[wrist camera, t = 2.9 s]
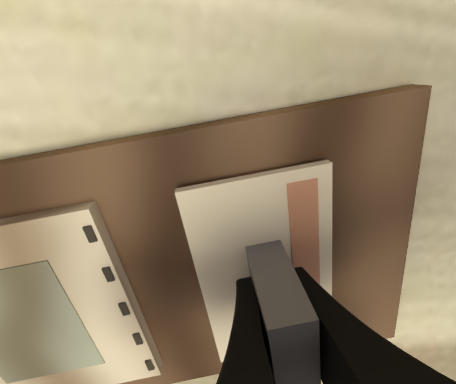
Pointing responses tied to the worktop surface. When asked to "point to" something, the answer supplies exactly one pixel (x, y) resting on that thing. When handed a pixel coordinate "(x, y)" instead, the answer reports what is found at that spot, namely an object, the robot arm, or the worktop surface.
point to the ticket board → (177, 241)
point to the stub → (265, 257)
